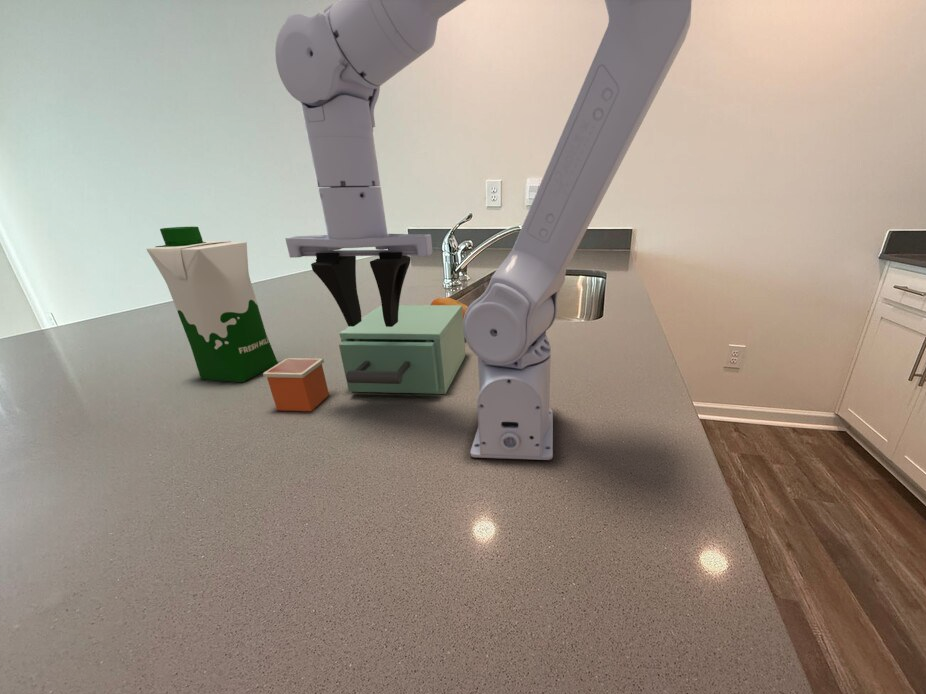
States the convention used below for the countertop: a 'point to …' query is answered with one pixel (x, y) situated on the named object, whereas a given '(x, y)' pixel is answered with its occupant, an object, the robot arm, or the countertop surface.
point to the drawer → (390, 365)
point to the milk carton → (215, 304)
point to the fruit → (449, 303)
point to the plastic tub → (297, 384)
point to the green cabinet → (420, 334)
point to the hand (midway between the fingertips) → (373, 324)
